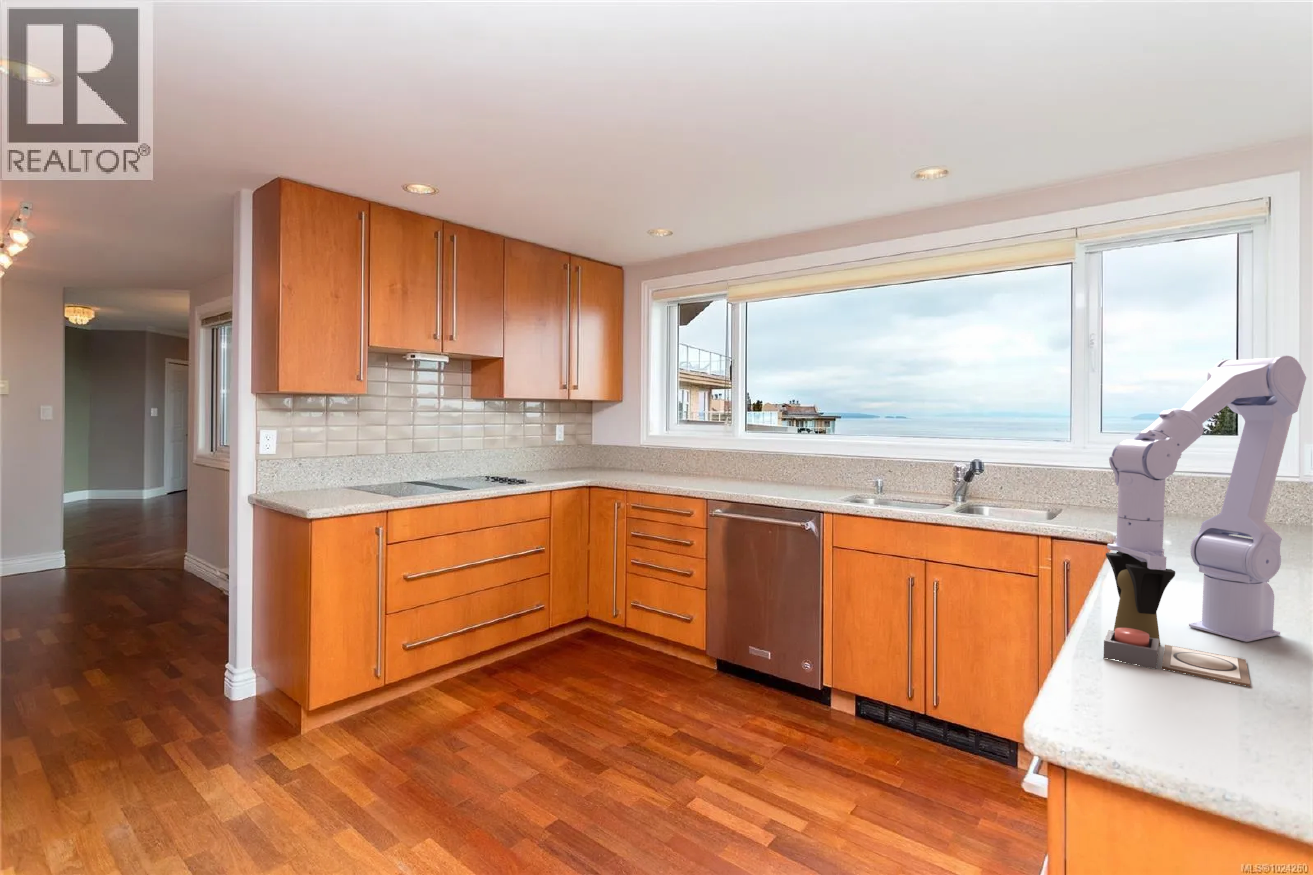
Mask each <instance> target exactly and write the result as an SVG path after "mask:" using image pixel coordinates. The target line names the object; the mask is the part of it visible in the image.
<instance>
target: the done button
mask: <svg viewBox="0 0 1313 875" xmlns="http://www.w3.org/2000/svg"><path fill="white" fill-rule="evenodd" d="M1115 641H1116V642H1121V643H1127V644H1132V645H1137V646H1143V647H1149V634H1148V633H1146V632H1144V631H1141V630H1137V629H1132V628H1116V629H1115Z"/></svg>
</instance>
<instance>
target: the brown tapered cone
mask: <svg viewBox="0 0 1313 875" xmlns="http://www.w3.org/2000/svg"><path fill="white" fill-rule="evenodd" d="M1117 582H1118V586H1119V587H1120V589H1121V595H1120V597H1119V601H1118V607H1117V611H1116V616H1115V620H1114V626H1113V630H1112V631H1115V629H1116V628H1132V629H1137V630H1141V631H1144V632H1146V633H1148V634H1149V637H1151V638H1156V639H1159V646H1160V647H1161V640H1160V631H1159V622H1158V614H1157V612H1156V614H1144V613H1139V612H1138V611H1137V608H1136V603H1135V594H1134V587H1133V583H1132V579H1131V576H1130V574H1129V572H1128V570H1127V569H1125V570H1122V571H1121V572H1120V573H1119V575H1118V577H1117Z"/></svg>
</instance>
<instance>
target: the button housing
mask: <svg viewBox="0 0 1313 875" xmlns="http://www.w3.org/2000/svg"><path fill="white" fill-rule="evenodd" d="M1159 648H1160V647H1159V639H1156V638H1151V637H1149V647H1143V646H1137V645H1132V644H1127V643H1121V642H1116V641H1115V631H1113V630H1111V629H1108V631H1107V632H1106V635H1105V637H1104V640H1103V659H1104V658H1108V659H1115V660H1119V661H1122V662H1121V663H1123V662H1126V663H1125V664H1128V663H1129V664H1128V665H1133V664H1137V665H1136V666H1138V665H1140V666H1139V667H1142V666H1143V668H1147V667H1148V668H1147V669H1152V668H1155V669H1154V670H1157V667H1158V660H1159V652H1160V650H1159ZM1108 659H1107V660H1108Z"/></svg>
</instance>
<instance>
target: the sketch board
mask: <svg viewBox="0 0 1313 875" xmlns="http://www.w3.org/2000/svg"><path fill="white" fill-rule="evenodd" d="M1163 669H1165V670H1164V671H1168V670H1170V671H1169V672H1173V671H1175V672H1174V673H1179V674H1183V673H1186V674H1185V675H1188V674H1190V675H1189V676H1192V675H1194V676H1193V677H1197V676H1198V678H1203V679H1207V678H1209V679H1208V680H1212V679H1215V680H1214V681H1217V680H1218V681H1217V682H1222V681H1223V682H1222V683H1227V682H1231V683H1230V684H1232V683H1235V684H1234V685H1237V684H1240V685H1239V686H1242V685H1246V686H1245V687H1247V686H1249V687H1248V688H1251V681H1250V676H1249V669H1248V666H1247V660H1246V659H1245V658H1242V657H1241V658H1240V657H1234V656H1229V655H1223V654H1217V653H1213V652H1208V651H1207V652H1206V651H1202V650H1195V649H1191V648H1186V647H1180V646H1175V645H1169V644H1164V649H1163V656H1162V662H1161V670H1163Z"/></svg>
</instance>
